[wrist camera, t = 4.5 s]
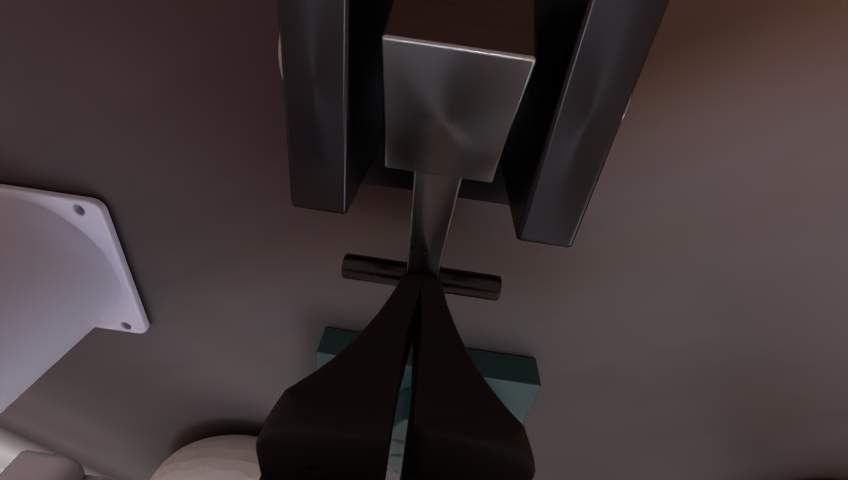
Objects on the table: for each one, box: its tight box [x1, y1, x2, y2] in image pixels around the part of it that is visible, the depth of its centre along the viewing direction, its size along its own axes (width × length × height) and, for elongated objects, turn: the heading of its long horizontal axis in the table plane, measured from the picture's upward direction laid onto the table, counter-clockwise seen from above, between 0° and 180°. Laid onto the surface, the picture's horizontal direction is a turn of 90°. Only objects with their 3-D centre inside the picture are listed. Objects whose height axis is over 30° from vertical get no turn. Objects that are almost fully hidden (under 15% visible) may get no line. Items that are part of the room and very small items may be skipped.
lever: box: [342, 0, 537, 301], centre depth 11 cm, size 11×6×2 cm, turn 173°
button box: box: [316, 328, 541, 475], centre depth 21 cm, size 11×8×4 cm
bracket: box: [278, 0, 669, 247], centre depth 9 cm, size 10×8×8 cm
